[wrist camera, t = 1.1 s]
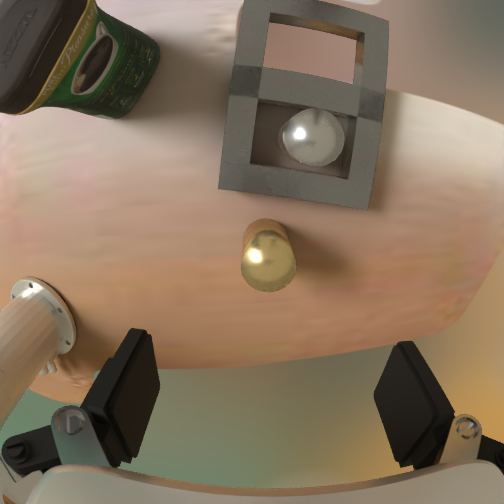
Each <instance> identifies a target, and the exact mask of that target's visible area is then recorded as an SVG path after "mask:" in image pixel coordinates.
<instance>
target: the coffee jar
mask: <svg viewBox="0 0 504 504" xmlns="http://www.w3.org/2000/svg"><path fill="white" fill-rule="evenodd" d="M159 58H160V50H159V47H158V45H157V43H156V42H155V41H154V40H153V39H151V38H150V37H149V36H147V35H146V34H144V33H143V32H141V31H139V30H137V29H135V28H133V27H132V26H130V25H127V24H125V23H123V22H121V21H120V20H118V19H116V18H114V17H112V16H110V15H109V14H107V13H105V12H104V11H103V10H101V9H100V8H99V7H98V6H97V4H96V1H95V0H0V112H1V113H5V114H8V115H22V114H26V113H29V112H31V111H34V110H36V109H38V108H41V107H60V108H65V109H70V110H74V111H77V112H81V113H84V114H88V115H91V116H95V117H99V118H105V119H117V118H120V117H122V116H124V115H125V114H126V113H128V112H129V111H130V110H131V108H132V107H133V106H134V104H135V103H136V102H137V100H138V99H139V97H140V96H141V94H142V93H143V91H144V89H145V87H146V86H147V84H148V82H149V81H150V79H151V77H152V75H153V73H154V71H155V69H156V67H157V65H158V62H159Z"/></svg>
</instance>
